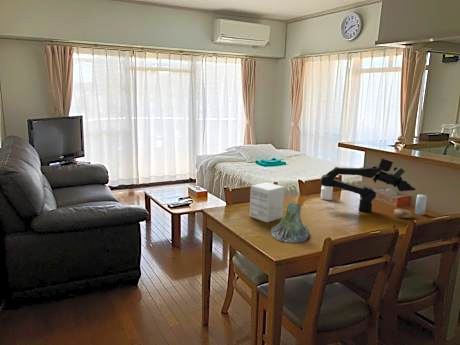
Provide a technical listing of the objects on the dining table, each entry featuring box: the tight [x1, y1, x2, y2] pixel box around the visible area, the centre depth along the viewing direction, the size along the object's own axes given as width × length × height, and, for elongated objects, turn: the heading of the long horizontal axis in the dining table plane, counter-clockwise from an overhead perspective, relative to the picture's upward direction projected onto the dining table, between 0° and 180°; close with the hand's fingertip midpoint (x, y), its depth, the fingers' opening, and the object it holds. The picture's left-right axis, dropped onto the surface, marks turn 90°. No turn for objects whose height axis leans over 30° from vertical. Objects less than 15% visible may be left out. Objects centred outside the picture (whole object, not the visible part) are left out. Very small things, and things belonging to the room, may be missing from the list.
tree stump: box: [270, 202, 310, 244], centre depth 177 cm, size 18×20×18 cm
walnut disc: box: [393, 208, 413, 219], centre depth 210 cm, size 9×9×3 cm
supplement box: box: [248, 182, 285, 223], centre depth 200 cm, size 13×13×18 cm
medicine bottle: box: [320, 185, 334, 201], centre depth 242 cm, size 7×7×12 cm
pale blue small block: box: [414, 193, 428, 216], centre depth 215 cm, size 5×5×11 cm
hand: (412, 187), depth 211 cm, fingers open, 9 cm apart
